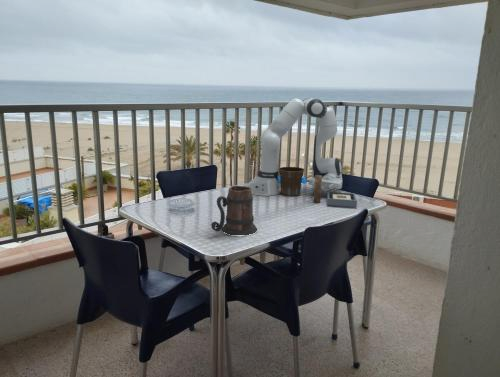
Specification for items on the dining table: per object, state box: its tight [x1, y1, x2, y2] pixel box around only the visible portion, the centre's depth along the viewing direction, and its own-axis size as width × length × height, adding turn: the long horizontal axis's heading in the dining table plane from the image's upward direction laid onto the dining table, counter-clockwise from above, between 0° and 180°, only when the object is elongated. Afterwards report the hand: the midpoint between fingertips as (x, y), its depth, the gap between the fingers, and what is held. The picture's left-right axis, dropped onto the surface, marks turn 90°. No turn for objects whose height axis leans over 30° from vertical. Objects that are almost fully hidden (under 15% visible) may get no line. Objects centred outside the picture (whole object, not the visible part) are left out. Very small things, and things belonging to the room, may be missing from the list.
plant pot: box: [278, 166, 305, 197], centre depth 229 cm, size 16×16×16 cm
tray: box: [326, 191, 358, 209], centre depth 211 cm, size 16×16×4 cm
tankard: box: [210, 185, 258, 236], centre depth 164 cm, size 24×17×20 cm
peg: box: [312, 174, 323, 204], centre depth 211 cm, size 4×4×16 cm
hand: (320, 185), depth 215 cm, fingers open, 8 cm apart
